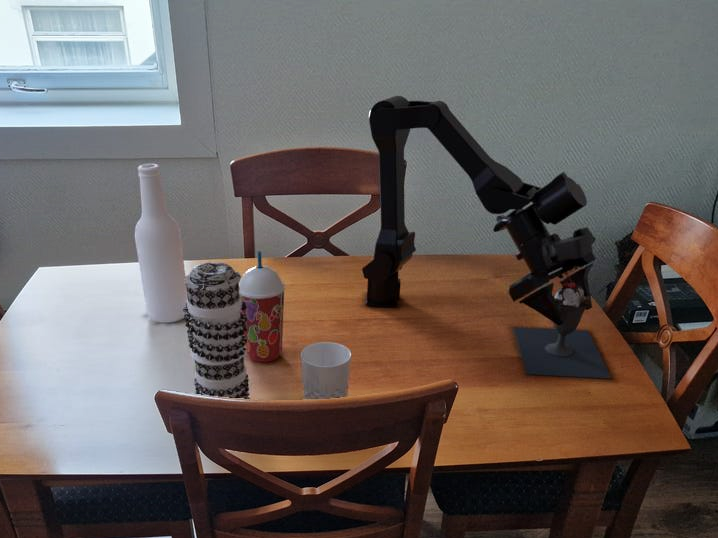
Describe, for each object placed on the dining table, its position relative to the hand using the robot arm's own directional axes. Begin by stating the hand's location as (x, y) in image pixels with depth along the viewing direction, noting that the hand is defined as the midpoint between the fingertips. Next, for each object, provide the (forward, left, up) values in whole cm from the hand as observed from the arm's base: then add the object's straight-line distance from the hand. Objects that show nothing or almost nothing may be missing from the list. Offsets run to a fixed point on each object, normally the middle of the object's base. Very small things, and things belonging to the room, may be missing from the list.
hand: (575, 316), depth 115 cm
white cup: (-42, -22, -8) cm, 48 cm away
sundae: (-1, +1, -8) cm, 8 cm away
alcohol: (-78, +9, -8) cm, 79 cm away
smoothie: (-55, -6, -8) cm, 56 cm away
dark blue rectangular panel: (-1, +1, -8) cm, 8 cm away
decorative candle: (-58, -26, -8) cm, 64 cm away
